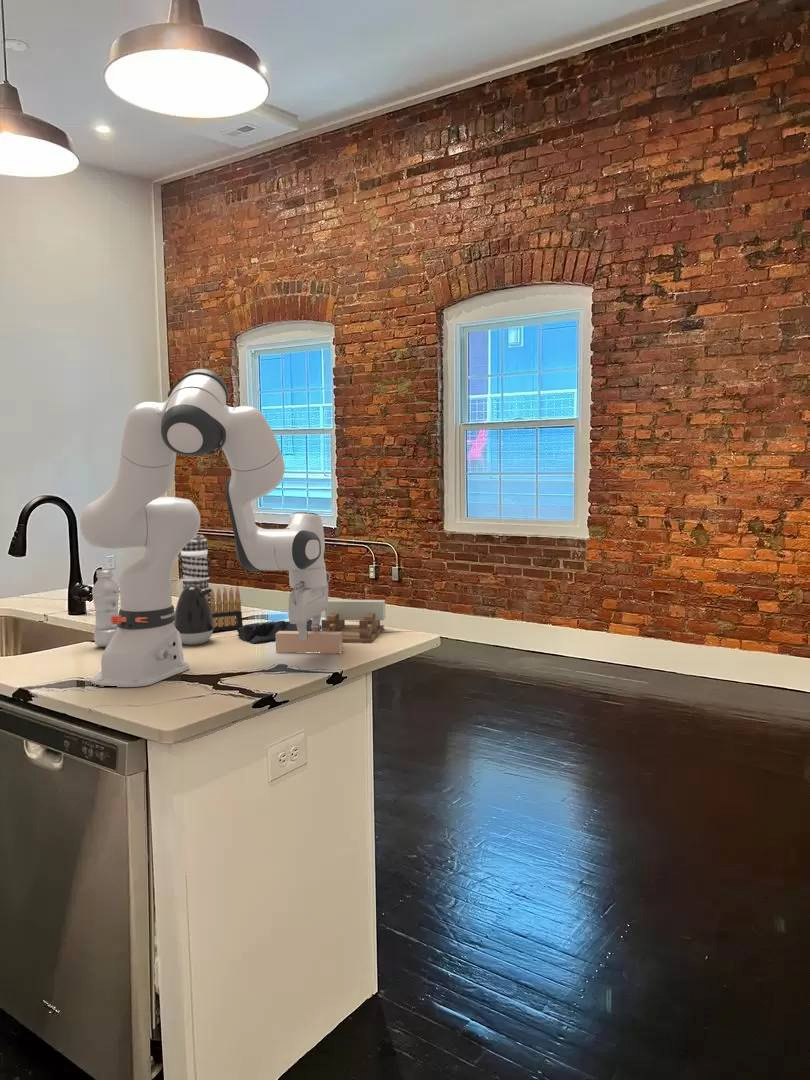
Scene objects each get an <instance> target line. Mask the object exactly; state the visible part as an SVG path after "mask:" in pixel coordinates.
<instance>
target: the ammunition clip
mask: <svg viewBox="0 0 810 1080" xmlns="http://www.w3.org/2000/svg"><path fill="white" fill-rule="evenodd" d="M210 589H211V590H212V592H210V597H209V598H210V602H209V603H210V608H211V611H212V615H213V620H214V629H213V631H216V632H220V631H219V630H226V631H231V630H230V629H236V630H238V628H240V627H243V626H244V625H243V624H244V623H243V614H242V613H243V612H242V600H241V593H240V589H239V586H236V587H235V593H234V591H233V587H232V586H230V588H229V593H228V592H227V589H226V587H223V589H222V595H221V590H220V588H219V587H218V588H217V591H216V598H215V592H214V590H213V589H214V588H210ZM205 590H206V589H205ZM234 594H235V597H234ZM206 597H207V600H208V594H207V595H206ZM228 597H229V598H228Z"/></svg>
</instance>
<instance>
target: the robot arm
mask: <svg viewBox="0 0 810 1080" xmlns="http://www.w3.org/2000/svg"><path fill="white" fill-rule="evenodd" d="M223 379H224V378H222V377H221V376H220V375H219V374H218V373H217V372H214V371H213V370H210V369H207V368H206V369H205V368H198V369H197V368H196V369H194V370H191V371H189V372H188V373H186V374H185V375H184V376H183V377H181V378H180V379H179V380H178V381H177V383H176V384H175V385H174V386H173V387H171V389H170V390H168V392H167V399H166V400H165V401H162V402H157V401H142V402H140V403H137V404H135V405H134V406H133V407H132V408H131V409H130V411H129V413H128V415H127V418H126V421H125V426H124V430H123V434H122V440H121V449H120V459H119V460H120V461H119V466H118V471H117V477H116V479H115V481H114V482H113V484H112V485H111V487H110V488H109V489H108V490H107V491H106V492H105V493H104V494H102V495H101V496H100V497H98V498H97V499H95V500H94V501H92V502H90V503H88V504H87V505H86V506H85V507H84V509H83V511H82V512H81V514H80V519H79V529H80V532H81V535H82V536H83V538H84V540H85V541H86V542H87V543H88V544H89V545H90V547H91V546H92V547H96V548H105V549H116V550H117V549H127V548H142V547H143V548H145V551H144V554H143V556H142V557H141V558H140V559H139V560H136V562H133V563H132V564H130V565H128V566H126V568H124V569H123V571H122V572H121V573H120V575H119V579H118V581H119V582H118V583H119V585H118V587H119V600H120V609H118V610H119V611H118V616H117V615H112V616H111V617H112V618H111V619H112V620H111V623H112V624H117V626H118V628H117V631H116V632H115V634H114V636H113V637H112V639H111V641H110V642H109V644H108V646H107V647H105V649H104V650H103V651H102V654H101V659H100V670H101V671H100V672H98V673H97V674H96V675H94V676H93V677H91V678H90V679H89V683H90V682H92V683H95V684H100V685H109V686H117V687H116V688H136V687H147V686H150V685H153V684H156V683H158V682H161V681H163V680H165V679H168V678H170V677H173V676H175V675H178V674H180V673H183V672H185V671H187V670H190V664H189V663H188V662H185V658H184V651H183V643H182V642H181V635H180V632H179V631H178V630H177V629H176V627H175V625H174V621H175V606H174V604H173V603H172V601H173V600H172V583H173V582H172V577H173V570H174V566H175V563H176V561H177V558H179V554H181V550H182V549H183V548H184V547H185V545H186V544H187V543H189V542H190V541H191V540H192V539H193V538H194V537H195V536H196V535H198V533H199V530H200V527H201V514H200V511H199V509H198V507H197V506H196V505H195V504H196V503H194V502H193V501H192V500H190V499H187V498H183V497H176V496H175V497H174V496H163V495H165V494H166V493H167V492H169V490H170V488H171V487H172V485H173V483H174V478H175V477H174V476H175V468H176V459H177V454H178V455H181V456H189V457H194V456H195V457H196V456H203V455H205V454H209V455H214V454H216V453H217V452H219V451H221V449H222V452H224V455H225V458H226V460H227V462H228V465H229V468H230V471H231V475H229V476H228V477H227V480H226V483H225V498H226V499H225V500H226V503H227V509H228V513H229V517H230V518H229V519H230V522H231V526H232V527H231V528H232V530H233V531H232V532H233V534H234V535H233V536H234V540H235V541H234V542H235V543H234V544H235V545H234V546H235V554H236V560H237V561H238V563H239V565H240V566H241V567H243V568H244V569H245V570H246V571H248V572H264V571H281V572H282V571H288V579H289V580H288V581H289V588H290V589H291V588H292V589H293V590H292V591H290V593H289V597H288V622H289V621H290V623H291V624H297V629H298V632H299V639H300V640H306V639H308V632H307V629H306V626H307V621H309V620H310V619H311V620H312V625H311V631H319V630H320V625H321V624H320V623H321V620H322V613H323V612H325V610H326V609H327V605H328V600H329V582H330V581H331V575H330V572H328V571H327V570H326V562H325V558H324V556H325V555H324V554H325V550H326V549H325V548H326V545H325V543H326V542H325V532H324V525H323V520H322V518H321V515H319V514H318V513H315V512H306V511H300V512H293V513H290V514H289V517H288V524H287V527H285V528H262V527H260V526H258V525H257V524H256V521H255V516H254V515H255V514H254V511H253V505H252V502H253V501H255V500H257V499H258V500H259V499H260V498H263V497H265V496H267V495H269V494H270V493H271V492H272V491H274V490H275V489H276V488H278V486H279V485H280V483H281V482H282V481H283V478H284V475H285V469H286V468H285V461H284V457H283V455H282V451H281V448H280V446H279V443H278V441H277V438H276V437H275V434H274V431H273V430H272V427H271V426H270V424H269V422H268V421H267V419H266V418H265V416H264V414H263V413H262V411H261V410H260V409H258V408H256V407H254V406H251V405H240V406H236V407H232V406H229V405H228V401H229V393H228V391H229V390H228V388H227V385H226V383H225V381H224V380H223ZM320 631H321V630H320Z"/></svg>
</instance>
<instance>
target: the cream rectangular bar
mask: <svg viewBox="0 0 810 1080" xmlns="http://www.w3.org/2000/svg"><path fill="white" fill-rule="evenodd" d="M324 612H325V614H324V615H325V620H327V616H328V615H330V614H331V613H339V620H345V621H360V620H364V616H366V615H367V614H368V613H374V614H375V620H380V621H384V620H386V618H387V617H386V599H328V605H327V609H326V610H324Z"/></svg>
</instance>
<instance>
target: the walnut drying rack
mask: <svg viewBox="0 0 810 1080" xmlns="http://www.w3.org/2000/svg"><path fill="white" fill-rule="evenodd" d="M358 621H359V624H346V623H345V622H346V620H339V613H331V614H330V615H328V616H327V620H326V619H321V620H320V622H321V627H322V628H321V632H342V640H343V643H349V642H362V644H371V643H372V642H373V641H375V639H376V638H377V637H378V636H379V635H380V634H381V633H382V632H383V631H384V630H385V625H383V624H381V620H375V614H374V613H368V614H367V615H366V616H364V620H358ZM383 627H384V628H383Z"/></svg>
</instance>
